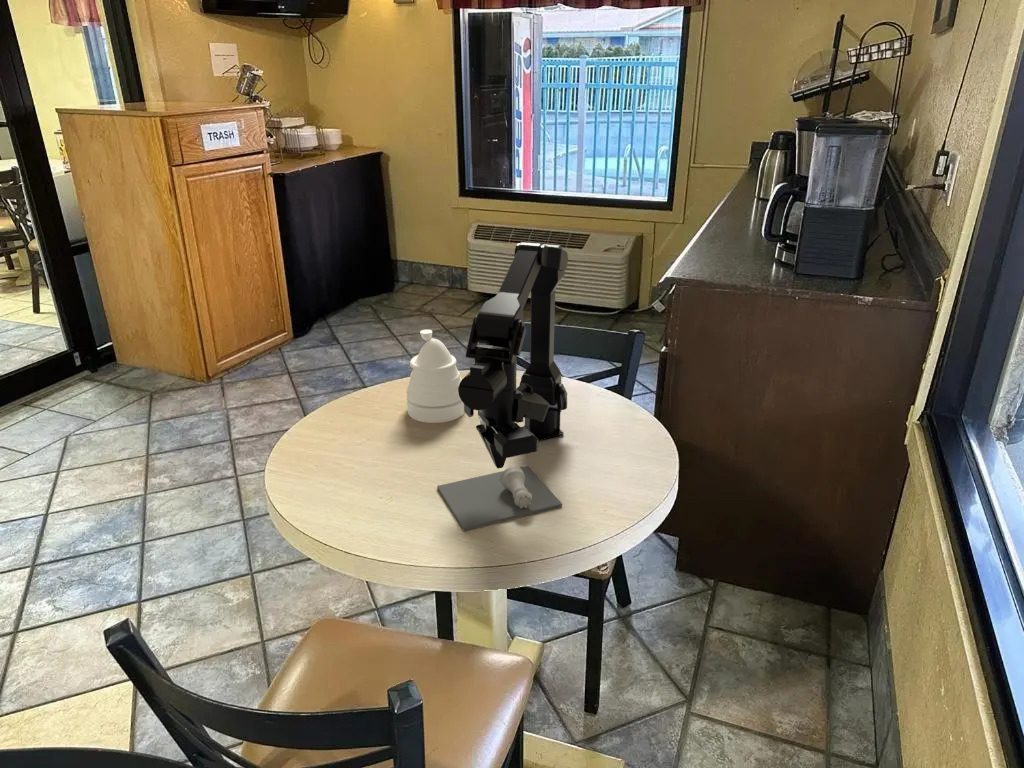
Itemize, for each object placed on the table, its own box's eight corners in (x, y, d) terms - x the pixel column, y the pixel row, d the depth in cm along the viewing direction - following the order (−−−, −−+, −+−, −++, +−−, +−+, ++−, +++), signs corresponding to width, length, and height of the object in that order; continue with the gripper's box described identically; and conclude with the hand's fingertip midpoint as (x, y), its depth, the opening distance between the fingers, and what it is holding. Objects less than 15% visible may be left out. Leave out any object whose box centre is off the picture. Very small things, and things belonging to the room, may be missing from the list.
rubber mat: (528, 468, 136) (528, 465, 135) (561, 506, 124) (562, 503, 124) (437, 488, 129) (437, 485, 129) (464, 531, 117) (463, 528, 117)
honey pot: (395, 413, 157) (389, 336, 150) (433, 392, 167) (430, 319, 159) (440, 428, 150) (436, 348, 143) (477, 406, 160) (475, 330, 153)
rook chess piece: (494, 478, 127) (507, 506, 120) (510, 461, 126) (524, 487, 119) (511, 489, 129) (525, 517, 122) (527, 471, 128) (542, 498, 122)
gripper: (569, 398, 112) (566, 484, 118) (520, 357, 127) (520, 435, 134) (503, 410, 108) (504, 498, 114) (461, 367, 123) (464, 446, 130)
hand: (499, 467), depth 123 cm, fingers closed
